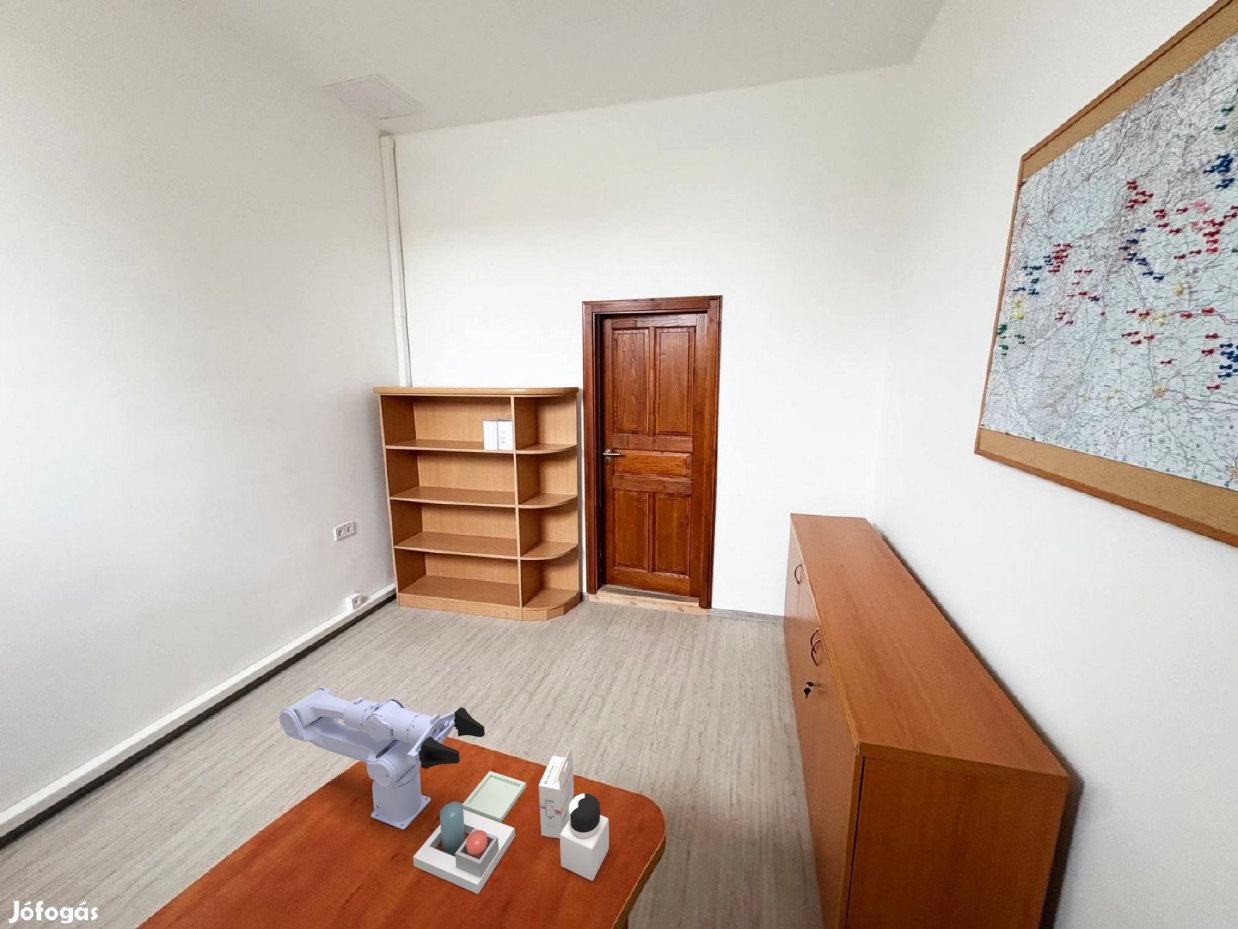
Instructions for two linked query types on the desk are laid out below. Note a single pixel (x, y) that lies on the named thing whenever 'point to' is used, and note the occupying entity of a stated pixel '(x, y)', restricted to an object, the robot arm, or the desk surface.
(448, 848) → the cylinder
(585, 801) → the medicine bottle
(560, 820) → the ink cartridge box
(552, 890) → the desk surface
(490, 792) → the tray
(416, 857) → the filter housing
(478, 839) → the release plunger
